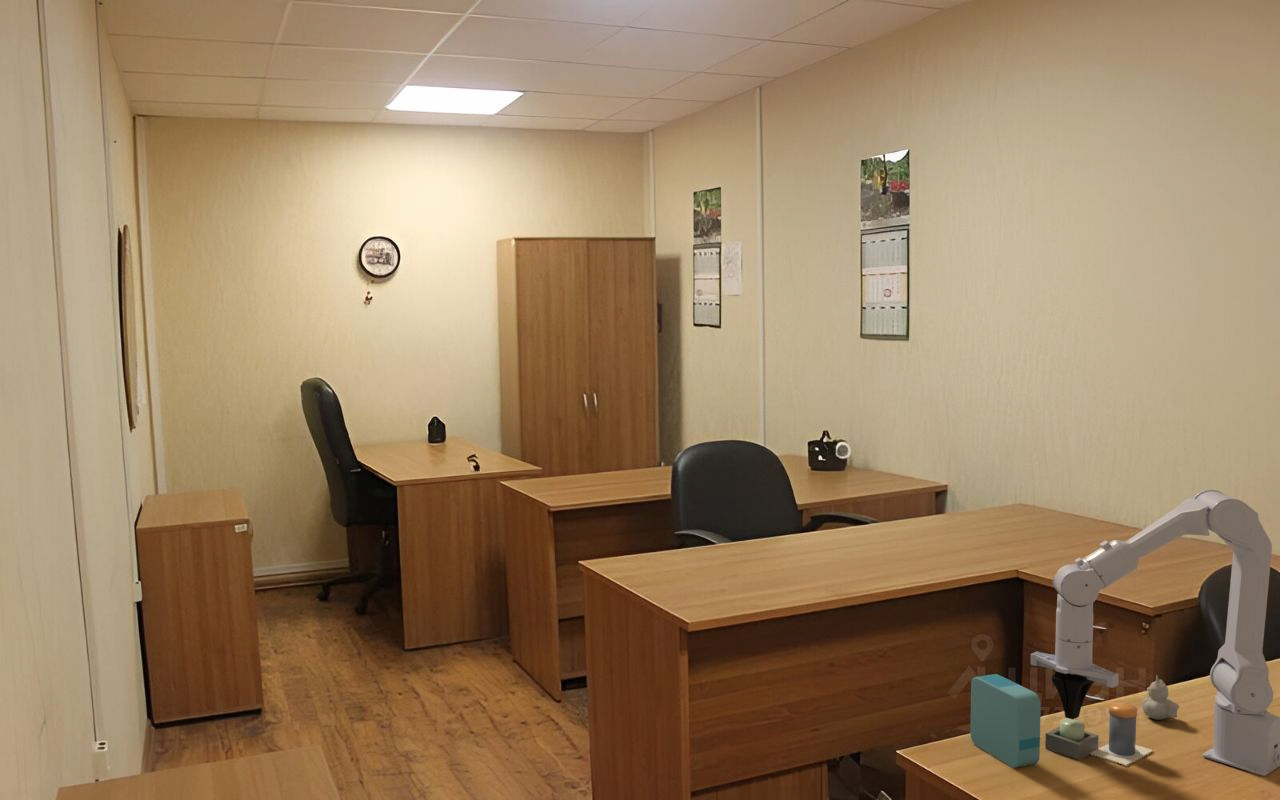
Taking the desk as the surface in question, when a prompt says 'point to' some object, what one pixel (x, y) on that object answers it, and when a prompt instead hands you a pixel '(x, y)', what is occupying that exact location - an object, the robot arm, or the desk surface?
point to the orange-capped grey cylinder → (1122, 728)
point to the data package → (1005, 720)
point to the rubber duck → (1159, 702)
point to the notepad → (1120, 759)
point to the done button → (1072, 729)
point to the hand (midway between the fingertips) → (1072, 717)
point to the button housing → (1071, 744)
